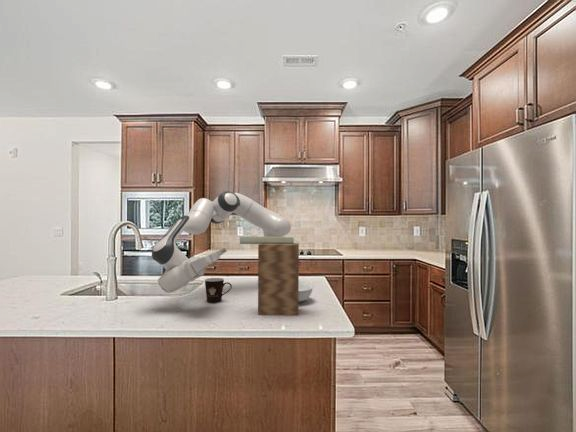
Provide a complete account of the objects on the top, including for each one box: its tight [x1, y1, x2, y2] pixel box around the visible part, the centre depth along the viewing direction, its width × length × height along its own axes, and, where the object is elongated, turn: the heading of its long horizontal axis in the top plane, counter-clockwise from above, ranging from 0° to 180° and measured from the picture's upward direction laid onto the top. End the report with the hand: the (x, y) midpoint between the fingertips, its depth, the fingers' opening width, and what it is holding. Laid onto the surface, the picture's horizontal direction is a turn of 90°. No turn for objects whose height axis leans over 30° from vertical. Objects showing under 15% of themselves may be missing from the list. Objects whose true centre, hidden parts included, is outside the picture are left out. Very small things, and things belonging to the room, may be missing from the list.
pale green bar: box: [239, 235, 295, 245], centre depth 146 cm, size 22×4×3 cm, turn 87°
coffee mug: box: [204, 277, 233, 304], centre depth 162 cm, size 12×9×10 cm
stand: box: [257, 242, 300, 316], centre depth 146 cm, size 16×10×28 cm, turn 87°
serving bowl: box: [298, 282, 313, 303], centre depth 165 cm, size 21×21×7 cm
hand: (223, 250), depth 147 cm, fingers open, 8 cm apart
